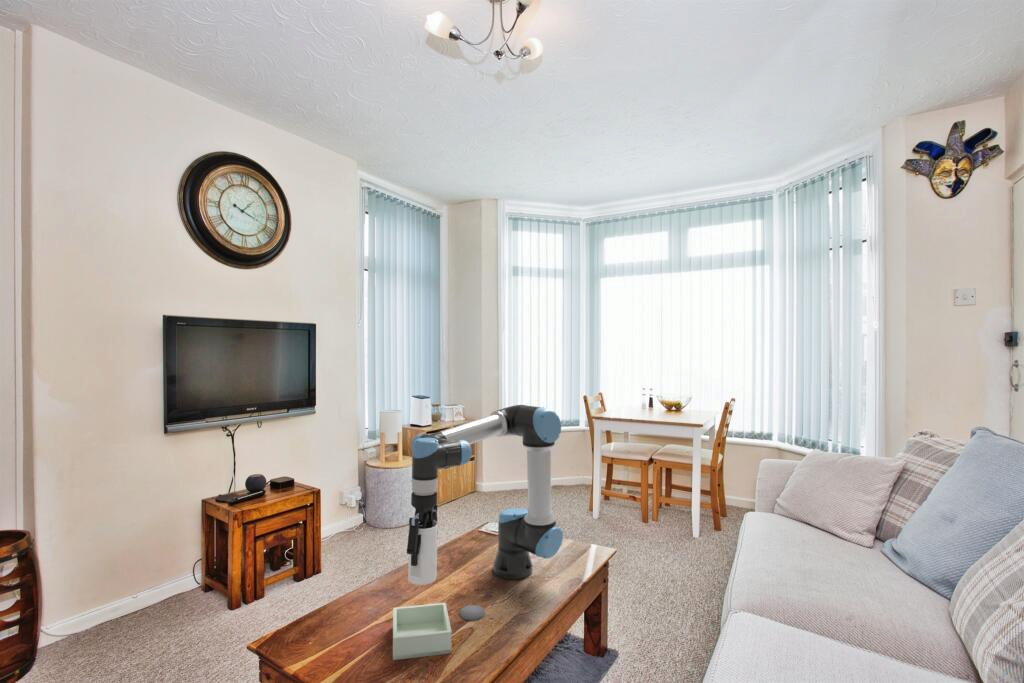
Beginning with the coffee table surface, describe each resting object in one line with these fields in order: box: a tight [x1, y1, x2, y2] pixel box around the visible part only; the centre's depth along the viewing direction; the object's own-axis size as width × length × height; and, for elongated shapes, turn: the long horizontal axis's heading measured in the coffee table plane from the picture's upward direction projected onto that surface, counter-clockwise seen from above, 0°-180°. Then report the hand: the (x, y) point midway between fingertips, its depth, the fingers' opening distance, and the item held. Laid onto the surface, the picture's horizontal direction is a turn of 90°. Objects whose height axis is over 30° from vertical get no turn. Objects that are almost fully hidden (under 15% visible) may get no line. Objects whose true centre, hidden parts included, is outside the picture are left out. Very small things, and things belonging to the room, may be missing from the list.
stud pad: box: [459, 604, 486, 621], centre depth 160 cm, size 8×8×1 cm
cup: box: [407, 520, 439, 586], centre depth 145 cm, size 8×8×16 cm
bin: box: [392, 602, 453, 661], centre depth 145 cm, size 16×16×6 cm
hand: (422, 568), depth 145 cm, fingers closed on cup, 8 cm apart
